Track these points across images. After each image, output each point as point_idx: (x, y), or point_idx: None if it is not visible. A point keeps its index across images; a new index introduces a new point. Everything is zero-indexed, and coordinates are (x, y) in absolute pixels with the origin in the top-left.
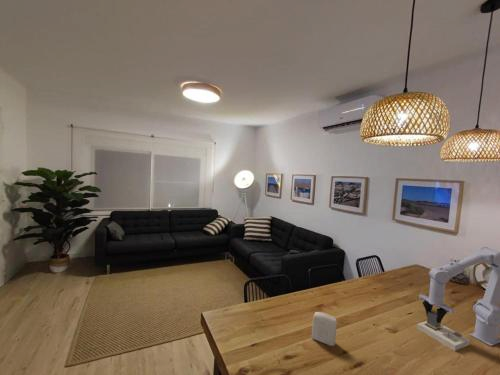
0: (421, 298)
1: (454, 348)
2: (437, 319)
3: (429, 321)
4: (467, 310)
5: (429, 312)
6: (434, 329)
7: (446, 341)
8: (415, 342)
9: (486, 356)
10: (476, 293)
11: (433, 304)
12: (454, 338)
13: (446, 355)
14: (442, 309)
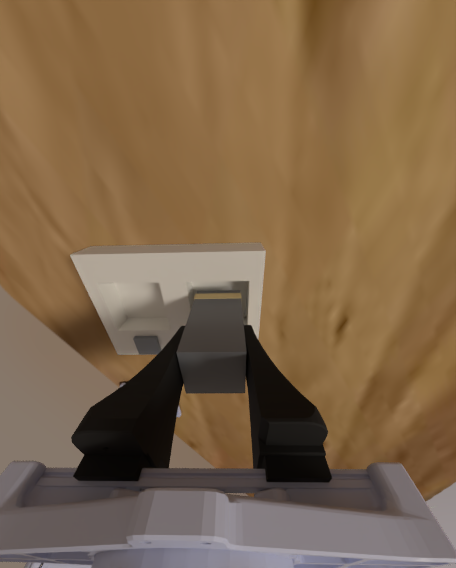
0: (374, 480)
1: (83, 249)
2: (179, 338)
3: (227, 307)
4: (252, 454)
5: (236, 355)
6: (201, 291)
7: (112, 252)
8: (165, 53)
9: (72, 329)
10: None
11: (134, 516)
12: (151, 320)
13: (50, 158)
14: (107, 464)
